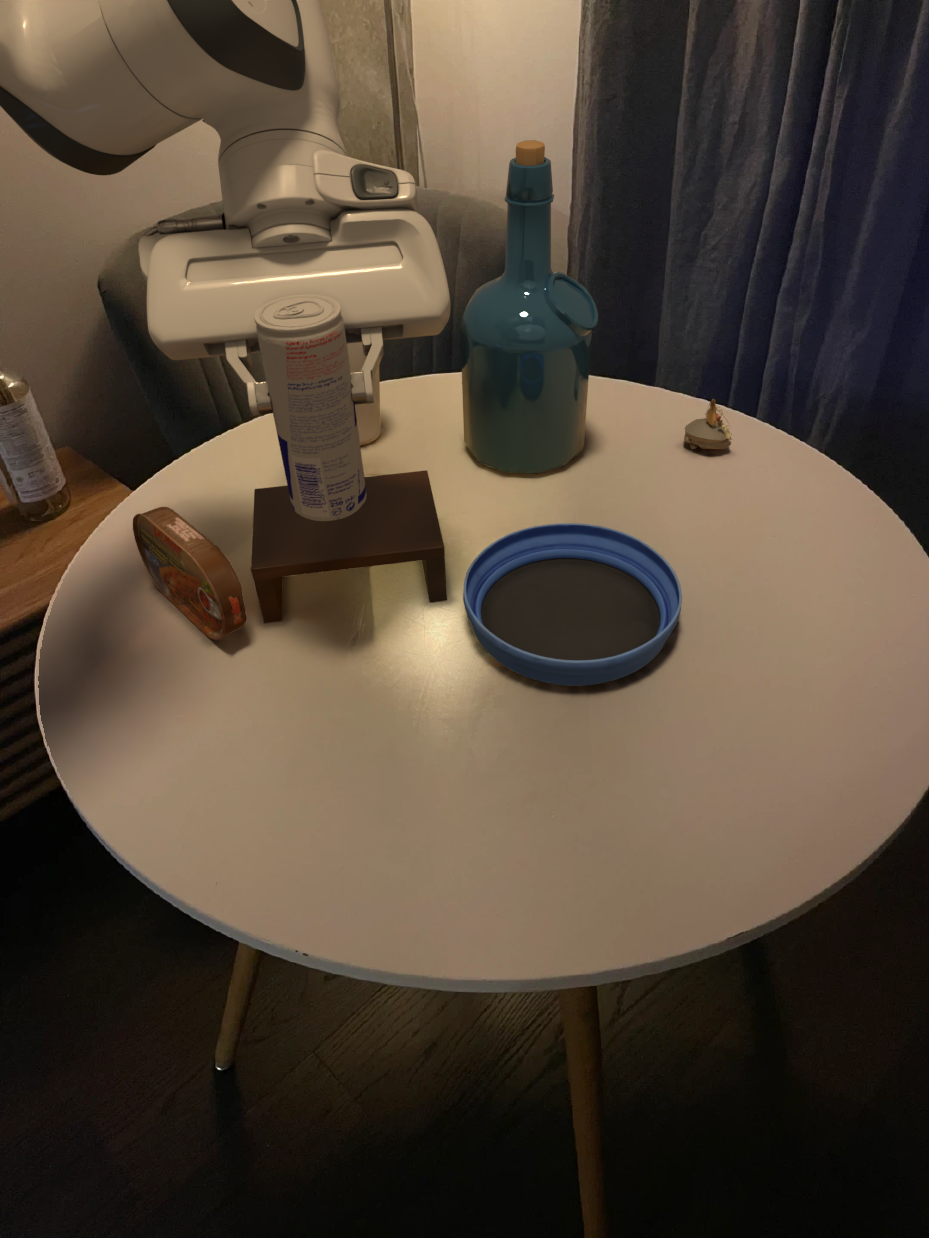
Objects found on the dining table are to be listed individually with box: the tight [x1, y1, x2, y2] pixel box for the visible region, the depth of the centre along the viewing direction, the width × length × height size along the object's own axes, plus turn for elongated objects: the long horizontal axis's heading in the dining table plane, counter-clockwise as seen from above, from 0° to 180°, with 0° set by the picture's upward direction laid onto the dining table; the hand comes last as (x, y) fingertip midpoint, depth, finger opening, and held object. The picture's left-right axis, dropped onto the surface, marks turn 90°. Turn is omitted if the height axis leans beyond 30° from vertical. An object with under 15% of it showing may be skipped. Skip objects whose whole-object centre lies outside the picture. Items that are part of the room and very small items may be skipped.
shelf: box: [250, 469, 448, 624], centre depth 80 cm, size 16×12×6 cm
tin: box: [132, 506, 248, 641], centre depth 76 cm, size 15×3×8 cm, turn 42°
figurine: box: [683, 398, 734, 450], centre depth 94 cm, size 5×4×6 cm
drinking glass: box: [347, 342, 382, 446], centre depth 95 cm, size 7×7×15 cm
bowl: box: [462, 522, 683, 687], centre depth 75 cm, size 18×18×4 cm
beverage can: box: [254, 294, 367, 521], centre depth 61 cm, size 6×6×15 cm
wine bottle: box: [459, 139, 599, 475], centre depth 87 cm, size 14×13×30 cm
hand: (313, 407), depth 60 cm, fingers closed on beverage can, 5 cm apart
